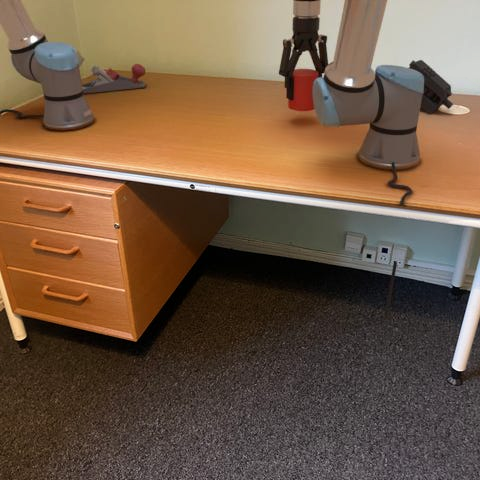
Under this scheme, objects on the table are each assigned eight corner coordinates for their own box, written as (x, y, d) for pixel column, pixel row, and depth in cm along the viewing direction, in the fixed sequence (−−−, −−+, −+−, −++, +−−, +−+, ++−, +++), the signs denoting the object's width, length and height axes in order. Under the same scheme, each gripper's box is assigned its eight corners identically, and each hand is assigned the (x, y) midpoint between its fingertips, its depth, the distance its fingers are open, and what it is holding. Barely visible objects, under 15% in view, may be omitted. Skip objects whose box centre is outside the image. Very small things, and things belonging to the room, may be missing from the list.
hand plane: (62, 90, 197) (53, 48, 189) (145, 82, 205) (140, 41, 197) (62, 96, 191) (54, 53, 184) (148, 87, 199) (143, 45, 191)
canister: (322, 108, 160) (324, 73, 155) (299, 113, 157) (300, 77, 151) (305, 101, 167) (306, 67, 161) (282, 105, 163) (283, 71, 158)
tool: (390, 90, 180) (417, 54, 169) (433, 128, 176) (464, 93, 165) (382, 95, 176) (409, 57, 165) (425, 133, 172) (456, 97, 161)
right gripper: (329, 11, 155) (324, 88, 167) (266, 18, 147) (265, 99, 159) (345, 14, 150) (339, 94, 162) (280, 22, 141) (279, 105, 153)
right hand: (302, 96), depth 160 cm, fingers closed on canister, 9 cm apart
